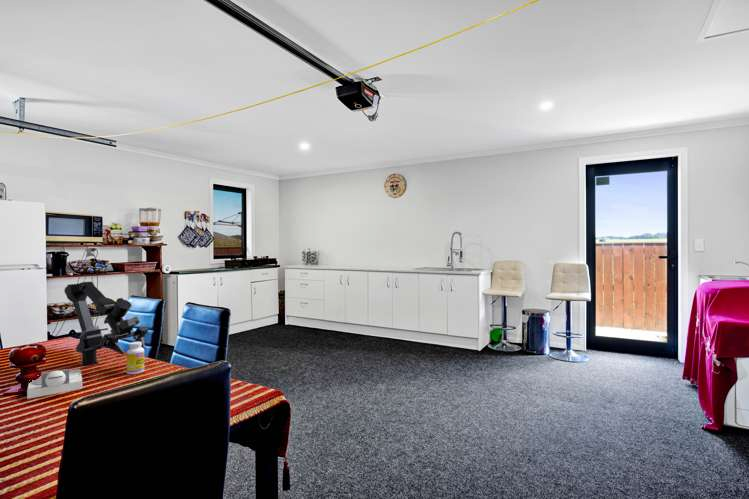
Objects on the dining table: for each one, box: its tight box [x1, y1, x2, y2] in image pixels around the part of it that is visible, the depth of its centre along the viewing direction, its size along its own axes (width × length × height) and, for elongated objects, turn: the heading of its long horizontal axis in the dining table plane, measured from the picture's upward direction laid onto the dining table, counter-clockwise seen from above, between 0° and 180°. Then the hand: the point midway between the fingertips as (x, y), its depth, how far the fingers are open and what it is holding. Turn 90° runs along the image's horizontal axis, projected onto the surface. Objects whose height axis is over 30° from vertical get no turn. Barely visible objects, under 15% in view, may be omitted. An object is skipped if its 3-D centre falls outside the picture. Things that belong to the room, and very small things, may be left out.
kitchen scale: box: [26, 368, 83, 400], centre depth 156 cm, size 21×16×8 cm
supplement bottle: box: [126, 341, 145, 375], centre depth 173 cm, size 7×7×13 cm
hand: (134, 351), depth 174 cm, fingers open, 9 cm apart
